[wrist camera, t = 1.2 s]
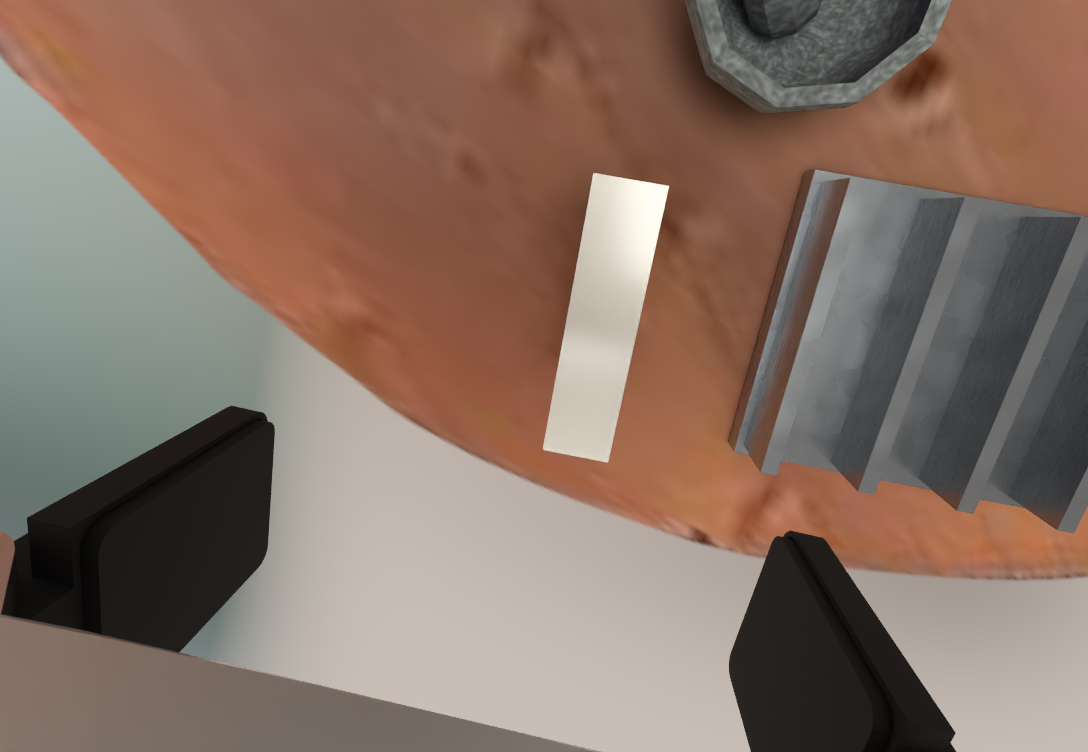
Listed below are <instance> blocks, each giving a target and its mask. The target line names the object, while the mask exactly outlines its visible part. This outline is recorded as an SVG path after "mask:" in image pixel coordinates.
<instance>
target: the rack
mask: <svg viewBox="0 0 1088 752" xmlns="http://www.w3.org/2000/svg"><path fill="white" fill-rule="evenodd" d="M728 442H729V444H730V446H731V447H732V449H733V451H734V452H738V453H743V454H748V455H750V456H751V458H752V460H753V461H754V463H755V464H756V466H757V468H758V469H759V471H760V472H761V473H766V474H771V475H776V476H777V473H778V469H779V466H780V463H781V461H784V462H789V463H794V464H800V465H805V466H810V467H815V468H820V469H826V470H831V471H836V472H840V473H841V474H842V475H843V476H844V477H845V478H846V479H847V480H848V481H849V482H850V483H851V484H852V486H853V487H854V488H855V489H856V490H857V491H859V492H864V493H869V494H875V491H876V488H877V486H878V483H879V480H882V481H888V482H893V483H898V484H903V485H908V486H913V487H919V488H924V489H929V490H933V491H934V492H935V493H936V494H937V495H939V496H940V497H941V498H942V499H943V500H945V501H946V502H947V503H948V504H949V505H951V506H952V507H953V508H954V509H955V510H957V511H962V512H967V513H972V514H973V513H974V511H975V509H976V507H977V504H978V502H979V500H980V499H981V500H986V501H991V502H996V503H1001V504H1007V505H1012V506H1017V507H1022V508H1026V509H1027V510H1029V511H1030V512H1032V513H1033V514H1035V515H1036V516H1037V517H1039V518H1040V519H1042V520H1043V521H1045V522H1046V523H1048V524H1049V525H1050V526H1052V527H1053V528H1055V529H1056V530H1059V531H1064V532H1069V533H1074V532H1075V530H1076V528H1077V526H1078V524H1079V522H1080V520H1081V518H1082V516H1083V514H1084V512H1085V510H1086V508H1087V506H1088V216H1083V215H1077V214H1071V213H1066V212H1060V211H1054V210H1048V209H1042V208H1036V207H1031V206H1025V205H1019V204H1013V203H1007V202H1001V201H995V200H990V199H984V198H978V197H972V196H966V195H960V194H954V193H949V192H943V191H937V190H931V189H925V188H919V187H914V186H908V185H902V184H896V183H890V182H884V181H878V180H873V179H867V178H861V177H855V176H849V175H843V174H838V173H832V172H826V171H820V170H811V171H806V172H805V173H804V176H803V180H802V183H801V187H800V190H799V194H798V197H797V201H796V204H795V208H794V211H793V215H792V218H791V222H790V225H789V229H788V232H787V236H786V239H785V243H784V247H783V250H782V254H781V257H780V261H779V264H778V268H777V271H776V275H775V278H774V282H773V285H772V289H771V292H770V296H769V299H768V303H767V306H766V310H765V314H764V317H763V321H762V324H761V328H760V331H759V335H758V338H757V342H756V345H755V349H754V352H753V356H752V359H751V363H750V366H749V370H748V373H747V377H746V380H745V384H744V388H743V391H742V395H741V398H740V402H739V405H738V409H737V412H736V416H735V419H734V423H733V426H732V430H731V433H730V437H729V440H728Z"/></svg>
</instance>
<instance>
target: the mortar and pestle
mask: <svg viewBox="0 0 1088 752" xmlns="http://www.w3.org/2000/svg"><path fill="white" fill-rule="evenodd" d="M951 1H952V0H685V5H686V9H687V12H688V16H689V19H690V23H691V26H692V29H693V33H694V36H695V40H696V43H697V47H698V50H699V54H700V57H701V60H702V64H703V67H704V71H705V74H706V75H707V76H708V77H710V78H711V79H713V80H714V81H715V82H717V83H718V84H720V85H721V86H722V87H724V88H725V89H727V90H728V91H729V92H731V93H732V94H734V95H735V96H736V97H738V98H739V99H741V100H742V101H743V102H745V103H746V104H748V105H749V106H750V107H752V108H753V109H755V110H756V111H757V112H759V113H778V112H791V111H805V110H819V109H832V108H845V107H848V106H850V105H852V104H855V103H857V102H859V101H861V100H862V99H863V98H865V97H866V96H867V95H868V94H870V93H871V92H872V91H874V90H875V89H876V88H877V87H879V86H880V85H881V84H883V83H884V82H885V81H886V80H888V79H889V78H890V77H892V76H893V75H894V74H895V73H897V72H898V71H899V70H901V69H902V68H903V67H904V66H906V65H907V64H908V63H910V62H911V61H912V60H913V59H915V58H916V57H917V56H919V55H920V54H921V53H922V52H924V51H925V50H926V49H928V48H929V47H930V46H931V45H933V44H934V42H935V40H936V37H937V35H938V32H939V30H940V27H941V25H942V23H943V20H944V18H945V15H946V13H947V11H948V8H949V6H950V3H951Z"/></svg>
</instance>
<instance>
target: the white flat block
mask: <svg viewBox="0 0 1088 752" xmlns="http://www.w3.org/2000/svg"><path fill="white" fill-rule="evenodd" d="M668 189H669V186H666V185H660V184H654V183H649V182H643V181H637V180H631V179H626V178H620V177H614V176H609V175H603V174H597V173H593V178H592V184H591V189H590V195H589V200H588V206H587V211H586V217H585V222H584V227H583V233H582V238H581V244H580V249H579V255H578V260H577V266H576V271H575V277H574V282H573V287H572V293H571V298H570V304H569V309H568V315H567V320H566V326H565V331H564V336H563V342H562V347H561V353H560V358H559V364H558V369H557V375H556V380H555V385H554V391H553V396H552V402H551V407H550V413H549V418H548V424H547V429H546V435H545V440H544V445H543V450H546V451H551V452H556V453H561V454H567V455H572V456H577V457H582V458H587V459H592V460H597V461H602V462H607V463H608V461H609V456H610V452H611V447H612V442H613V438H614V433H615V429H616V424H617V420H618V415H619V411H620V406H621V402H622V397H623V393H624V388H625V384H626V379H627V375H628V370H629V365H630V361H631V356H632V352H633V347H634V343H635V338H636V334H637V329H638V325H639V320H640V316H641V311H642V307H643V302H644V298H645V293H646V289H647V284H648V279H649V275H650V270H651V266H652V261H653V257H654V252H655V248H656V243H657V239H658V234H659V230H660V225H661V221H662V216H663V212H664V207H665V202H666V198H667V193H668Z"/></svg>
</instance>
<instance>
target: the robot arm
mask: <svg viewBox="0 0 1088 752" xmlns="http://www.w3.org/2000/svg"><path fill="white" fill-rule="evenodd" d="M274 430H275V429H274V425H273V424H272V423H271V422H268V421H267V417H266V415H265V414H264V413H262V412H257V411H253V410H248V409H244V408H239V407H235V406H230V407H227V408H225V409H224V410H222V411H220V412H218V413H216V414H215V415H213V416H211V417H209V418H207V419H206V420H204V421H202V422H200V423H198V424H196V425H195V426H193V427H191V428H189V429H188V430H186V431H184V432H182V433H180V434H179V435H177V436H175V437H173V438H171V439H169V440H167V441H166V442H164V443H162V444H160V445H159V446H157V447H155V448H153V449H151V450H149V451H147V452H146V453H144V454H142V455H140V456H139V457H137V458H135V459H133V460H131V461H129V462H127V463H126V464H124V465H122V466H120V467H118V468H117V469H115V470H113V471H111V472H109V473H108V474H106V475H104V476H102V477H100V478H98V479H97V480H95V481H93V482H91V483H90V484H88V485H86V486H84V487H82V488H80V489H79V490H77V491H75V492H73V493H71V494H69V495H68V496H66V497H64V498H62V499H60V500H59V501H57V502H55V503H53V504H51V505H49V506H48V507H46V508H44V509H42V510H40V511H39V512H37V513H35V514H33V515H31V516H30V517H28V518H27V524H28V533H27V534H26V535H24V536H22V537H21V538H19V539H17V540H15V541H14V540H13V539H12V538H11V537H9V536H8V535H7V534H6V533H4V532H1V531H0V752H600V751H596V750H591V749H587V748H583V747H578V746H574V745H570V744H566V743H562V742H557V741H553V740H549V739H545V738H541V737H536V736H532V735H528V734H524V733H519V732H515V731H511V730H506V729H502V728H498V727H494V726H490V725H485V724H481V723H476V722H473V721H468V720H464V719H459V718H456V717H451V716H447V715H443V714H439V713H435V712H430V711H426V710H422V709H418V708H414V707H409V706H405V705H401V704H397V703H392V702H388V701H384V700H380V699H376V698H371V697H367V696H363V695H359V694H355V693H350V692H346V691H342V690H338V689H333V688H329V687H325V686H321V685H317V684H312V683H308V682H304V681H300V680H296V679H291V678H287V677H283V676H279V675H274V674H270V673H266V672H262V671H257V670H253V669H248V668H244V667H240V666H236V665H231V664H227V663H222V662H218V661H214V660H210V659H205V658H201V657H197V656H192V655H188V654H183V653H179V652H180V651H181V650H182V649H183V648H184V647H185V646H186V645H187V644H188V642H189V641H190V640H191V639H192V638H193V637H194V636H195V635H196V634H197V633H198V632H199V631H200V630H201V629H202V627H203V626H204V625H205V624H206V623H207V622H208V621H209V620H210V619H211V618H212V617H213V616H214V615H215V613H216V612H217V611H218V610H219V609H220V608H221V607H222V606H223V605H224V604H225V603H226V602H227V601H228V600H229V598H230V597H231V596H232V595H233V594H234V593H235V592H236V591H237V590H238V589H239V588H240V587H241V586H242V584H243V583H244V582H245V581H246V580H247V579H248V578H249V577H250V576H251V575H252V574H253V572H254V571H256V569H257V568H258V567H259V566H260V565H261V563H262V561H263V560H264V557H265V555H266V552H267V547H268V533H269V517H270V501H271V484H272V468H273V450H274V435H275V434H274V433H275V431H274ZM729 673H730V678H731V682H732V685H733V689H734V693H735V696H736V699H737V703H738V707H739V710H740V714H741V718H742V721H743V725H744V728H745V732H746V736H747V739H748V743H749V746H750V750H751V752H956V751H955V749H954V748H953V746H952V745H951V743H950V742H951V740H952V739H953V737H954V735H955V731H954V730H953V729H952V727H951V726H950V724H949V723H948V721H947V720H946V718H945V717H944V715H943V714H942V712H941V711H940V709H939V708H938V707H937V705H936V703H935V702H934V701H933V699H932V697H931V696H930V694H929V693H928V691H927V690H926V688H925V687H924V686H923V684H922V683H921V681H920V680H919V678H918V677H917V675H916V674H915V672H914V671H913V669H912V668H911V666H910V665H909V663H908V662H907V660H906V659H905V657H904V656H903V655H902V653H901V651H900V650H899V649H898V647H897V646H896V644H895V643H894V641H893V640H892V638H891V637H890V635H889V634H888V632H887V631H886V629H885V628H884V627H883V625H882V623H881V622H880V620H879V619H878V617H877V616H876V614H875V613H874V612H873V610H872V608H871V607H870V605H869V604H868V603H867V601H866V600H865V598H864V597H863V595H862V594H861V592H860V591H859V589H858V588H857V586H856V585H855V583H854V582H853V580H852V579H851V577H850V576H849V574H848V573H847V572H846V570H845V568H844V567H843V565H842V564H841V563H840V561H839V560H838V558H837V557H836V555H835V554H834V552H833V551H832V549H831V548H830V546H829V545H828V543H827V542H826V541H825V540H824V539H823V538H821V537H816V536H812V535H807V534H803V533H798V532H794V531H788V532H787V533H786V534H785V535H784V536H783V537H780V536H777V537H775V539H774V540H773V542H772V544H771V546H770V549H769V552H768V555H767V557H766V560H765V563H764V565H763V568H762V571H761V573H760V576H759V579H758V582H757V584H756V587H755V589H754V592H753V595H752V598H751V600H750V603H749V606H748V608H747V612H746V614H745V616H744V619H743V622H742V624H741V627H740V630H739V632H738V635H737V638H736V641H735V643H734V646H733V649H732V651H731V655H730V660H729Z"/></svg>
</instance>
